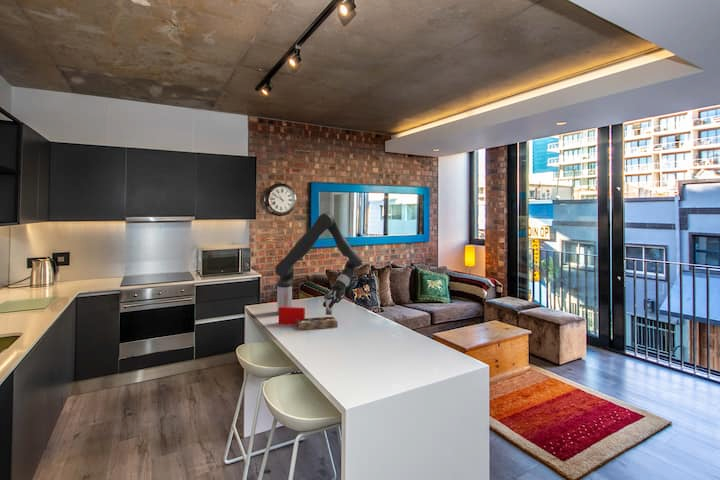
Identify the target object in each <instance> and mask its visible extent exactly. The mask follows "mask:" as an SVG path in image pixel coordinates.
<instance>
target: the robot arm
mask: <svg viewBox="0 0 720 480" xmlns="http://www.w3.org/2000/svg"><path fill="white" fill-rule="evenodd" d="M335 219H336V218H335V217H334V215H333V214H332V213H331V212H323V213H321V214H320V215H319V216H318V217H317V219H316V221H315V222H314V223H313V225H312V226H311V227H310V229H308V230H307V231H306V232H305V233H304V234H303V235H302V236H301V237H300V238H299V239H298V240H297V242H296V243H295V244H294V246H292V248H291V249H290V250H289V251H288V253H287V254H286V256H285V257H283V259H281V260H280V261H279V262H278V263H276V266H275V269H274V271H275V274H276V276H277V277H280V278H279V280H278V281H277V287H276V288H277V289H276V291H277V292H276V293H277V298H276V299H277V300H276V304H277V305H276V309H277V310H276V313H277V314H278V315H279V308H280V307H293V283H294V270H295V269H294V265H295V264H296V263H297V262H298V261H300V260H301V259H302V258H303V257H304V256H306V255H307V254H308V253H309V252H310V251H311V250H312V248H313V247H314V246H315V245H316V243H317V242H318V239H319V237H321V235H322V234H323V233H324V232H325V231H326V230H327V231H329V233H330V234H331V237H332V238H333V241H334V243H335V245H336V247H337V248H338V250H339V252H340V253H341V254H342V256H343V257H346V258H347V259H348V260H347V261H346V263H345V266H344V269H343V270H342V271H341V272H340V275H338V276H337V278H336V280H335V282H334V283H333V284H332V287H331V289H330V290H328V289H327V290H325V294H324V296H323V299H324V301H323V303H322V306H323V307H324V308H326V298H325V295H328V294H331V295H333V299H332V301H331V302H330V304H329V306H328V307H329V308H330V309H331V308H332V307H333V306H335V304H339V303H340V302H341V300H343V298H345V294H344V292H345V291H346V289H347V287H348V286H349V284H350V282H351V280H352V279H353V277H354V274H355V270H356V269H357V268H360V267H361V266H362V265H363V260H362V257H361V255H360V254H358V253H357V252H356V251H355V249H353V248H352V246H351V245H350V243H349V242H348V240H347V238H346V237H345V236H344V234H343V233H342V231H341V229H340V227H339V226H338V224H337V222H336V220H335Z"/></svg>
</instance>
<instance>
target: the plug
mask: <svg viewBox="0 0 720 480" xmlns="http://www.w3.org/2000/svg"><path fill="white" fill-rule="evenodd" d="M324 296H325V298H326V307H325V315H326V316H332V315H333V312H334V311H333V307H332V308H331V309H330V308H329V307H328V306H329V304H330V302H331V301H332V299H333V295H331V294H328V295H325V294H324Z"/></svg>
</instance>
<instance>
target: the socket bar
mask: <svg viewBox="0 0 720 480" xmlns="http://www.w3.org/2000/svg"><path fill="white" fill-rule="evenodd" d="M338 322H339V321H338V319H336V318H335V317H334V316H332V315H331V316H319V317H308V318H307V317H305V318H304V321H301V322H300V319H297V325H296V327H297V328H298V330H299V331H303V330H304V331H305V330H319V329H330V328H338Z"/></svg>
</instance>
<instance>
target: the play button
mask: <svg viewBox="0 0 720 480" xmlns="http://www.w3.org/2000/svg"><path fill="white" fill-rule="evenodd" d="M304 318H306V309H305V307H298V306H297V307H296V306H292V307H280V308H279V314H278V324H279V325H288V324H290V325H292V326H297V319H300V322H301V321H304Z"/></svg>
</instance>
